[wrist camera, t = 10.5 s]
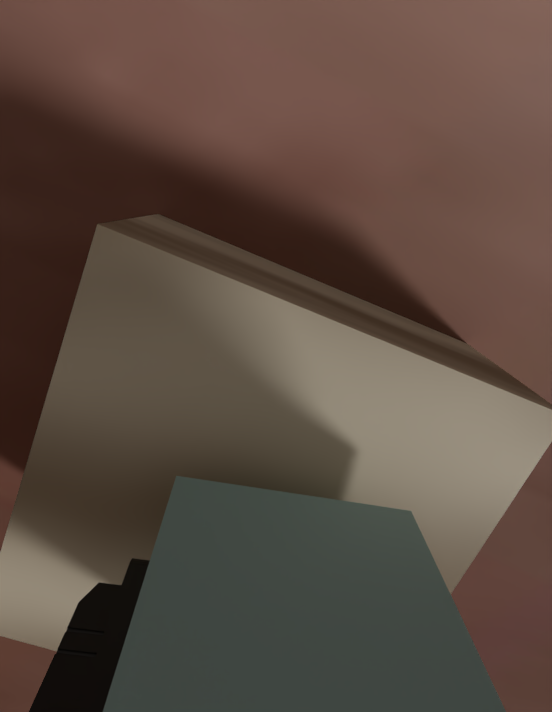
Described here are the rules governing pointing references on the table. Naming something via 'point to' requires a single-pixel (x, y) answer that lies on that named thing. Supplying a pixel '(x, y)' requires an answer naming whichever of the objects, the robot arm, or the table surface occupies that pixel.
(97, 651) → the robot arm
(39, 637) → the birch block
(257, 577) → the teal block
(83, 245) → the table surface
